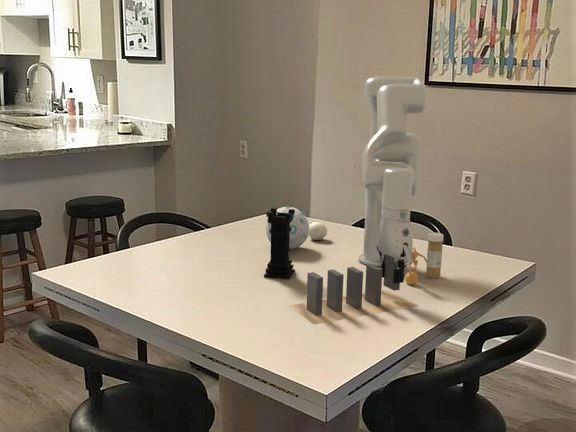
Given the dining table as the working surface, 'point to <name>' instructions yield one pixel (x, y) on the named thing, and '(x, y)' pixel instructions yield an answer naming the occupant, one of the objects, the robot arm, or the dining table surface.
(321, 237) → the cream round ball
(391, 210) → the robot arm
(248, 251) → the dining table surface
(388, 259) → the domino
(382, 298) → the cork mat
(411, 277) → the figurine
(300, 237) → the puzzle ball
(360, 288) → the domino
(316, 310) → the domino
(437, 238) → the sprinkles bottle
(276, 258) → the chess piece
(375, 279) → the domino
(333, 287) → the domino
